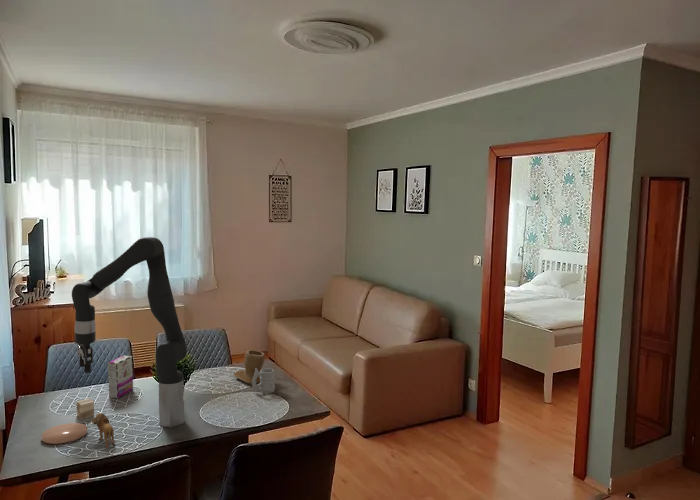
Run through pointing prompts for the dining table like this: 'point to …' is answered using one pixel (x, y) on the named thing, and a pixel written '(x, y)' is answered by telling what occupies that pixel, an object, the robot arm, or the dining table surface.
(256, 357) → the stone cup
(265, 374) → the mug
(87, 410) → the birch block
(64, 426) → the dish
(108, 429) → the lion figurine
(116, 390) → the candy bar box
